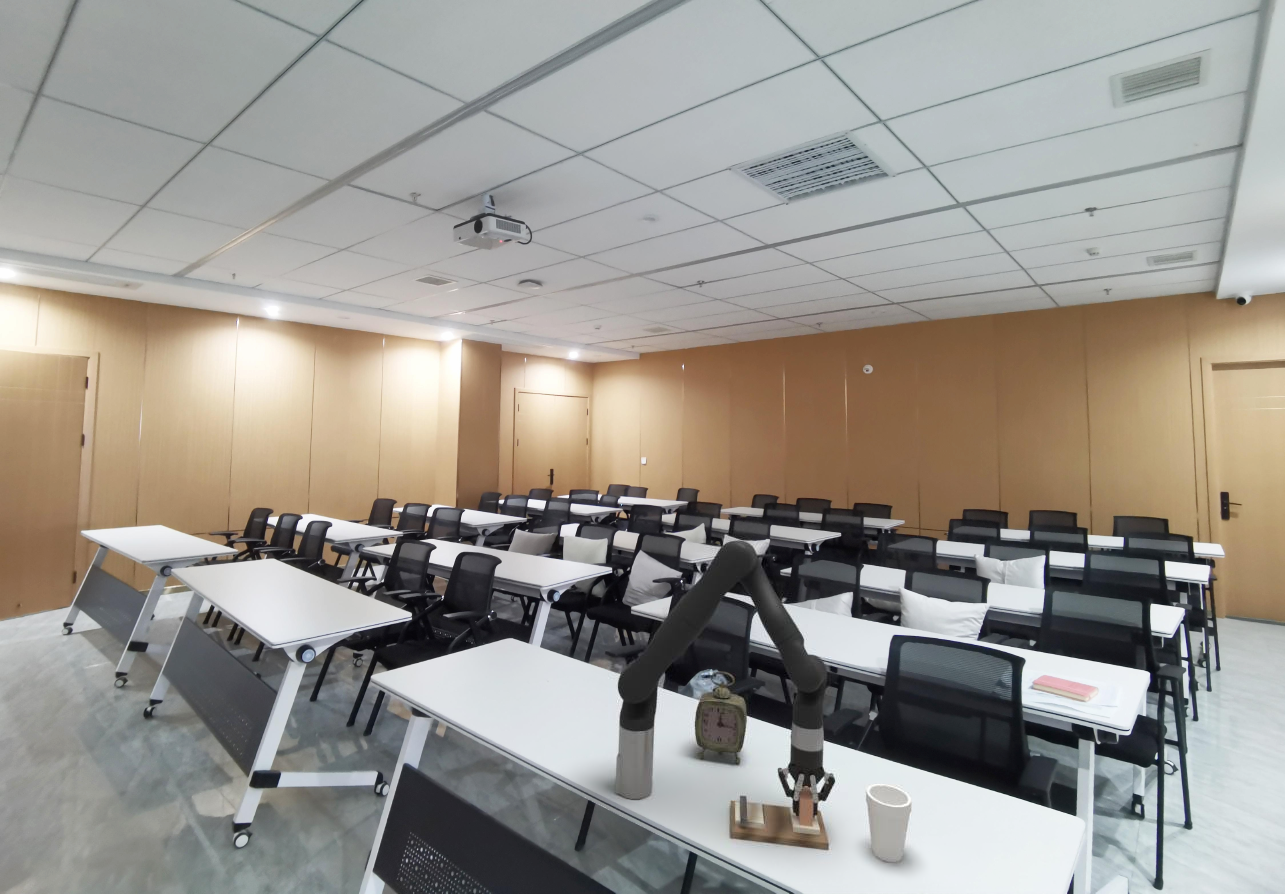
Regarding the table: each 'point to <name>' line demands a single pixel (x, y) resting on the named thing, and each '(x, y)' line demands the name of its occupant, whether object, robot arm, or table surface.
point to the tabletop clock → (721, 720)
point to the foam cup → (888, 820)
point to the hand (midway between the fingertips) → (804, 814)
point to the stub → (805, 814)
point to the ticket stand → (771, 825)
